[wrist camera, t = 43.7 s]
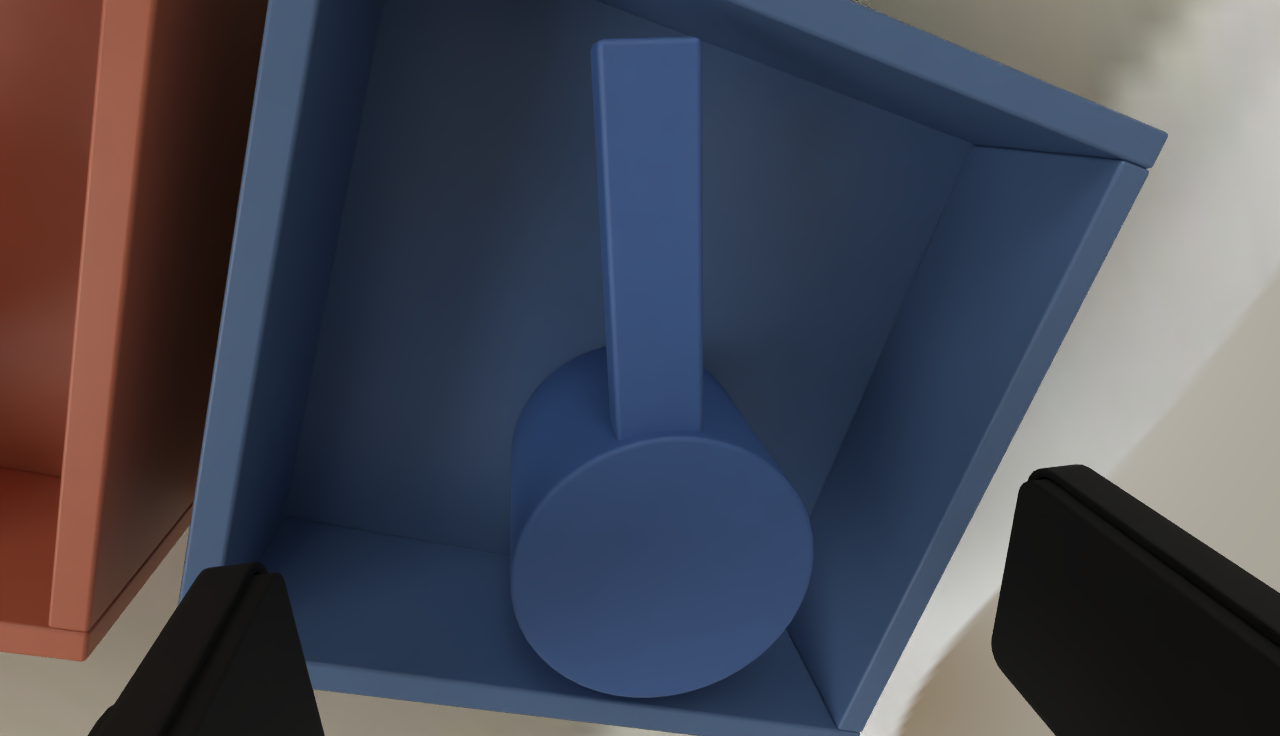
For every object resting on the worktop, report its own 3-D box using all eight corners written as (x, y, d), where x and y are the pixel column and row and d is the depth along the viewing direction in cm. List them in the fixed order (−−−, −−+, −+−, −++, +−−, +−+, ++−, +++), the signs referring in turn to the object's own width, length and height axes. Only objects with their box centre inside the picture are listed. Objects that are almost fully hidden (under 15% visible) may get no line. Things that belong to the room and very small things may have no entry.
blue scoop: (736, 534, 15) (808, 677, 11) (522, 561, 14) (524, 719, 11) (743, 52, 12) (848, 30, 8) (468, 59, 11) (444, 41, 7)
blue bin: (376, -117, 11) (301, -233, 7) (990, 123, 13) (1171, 134, 10) (260, 518, 14) (165, 674, 10) (776, 608, 16) (851, 755, 13)
